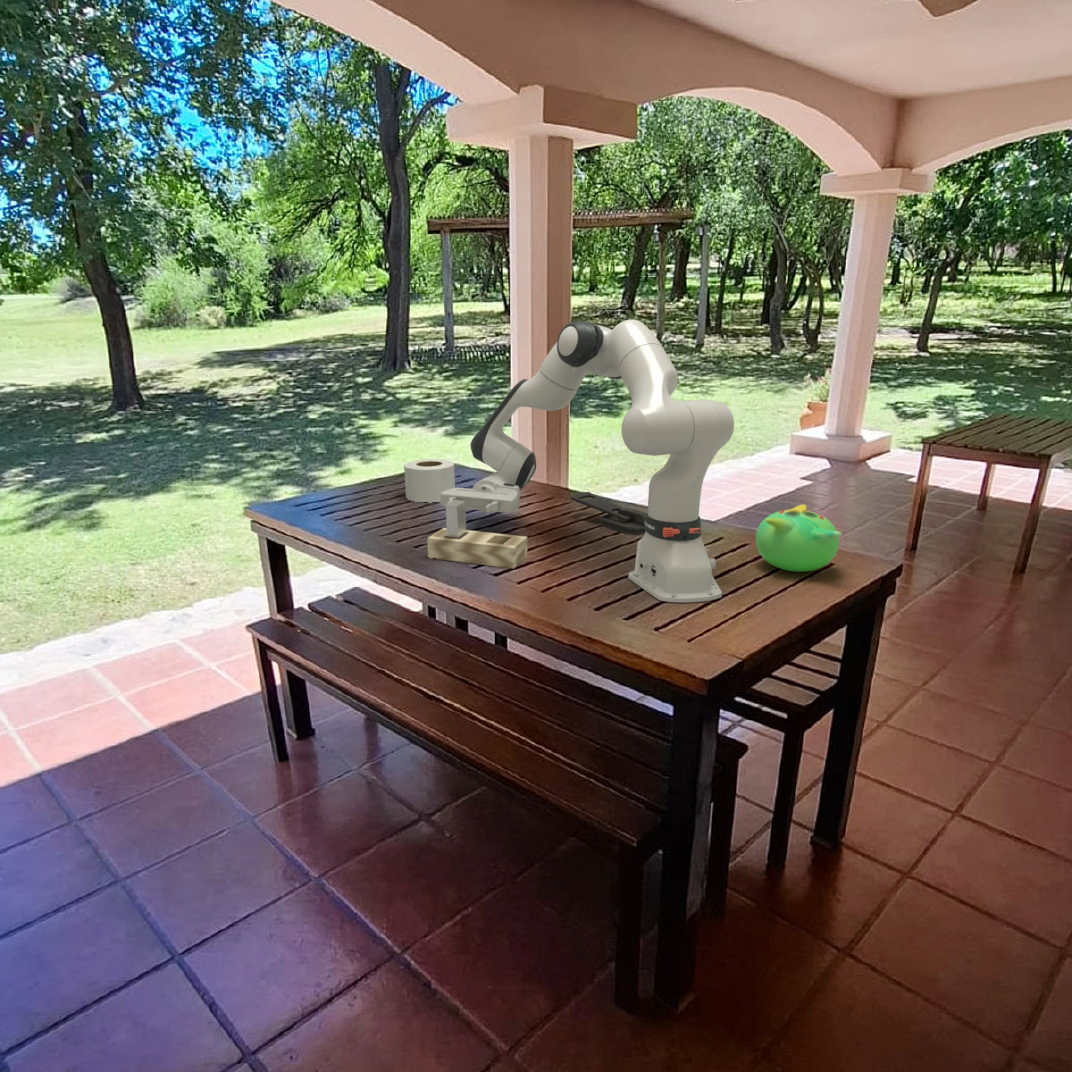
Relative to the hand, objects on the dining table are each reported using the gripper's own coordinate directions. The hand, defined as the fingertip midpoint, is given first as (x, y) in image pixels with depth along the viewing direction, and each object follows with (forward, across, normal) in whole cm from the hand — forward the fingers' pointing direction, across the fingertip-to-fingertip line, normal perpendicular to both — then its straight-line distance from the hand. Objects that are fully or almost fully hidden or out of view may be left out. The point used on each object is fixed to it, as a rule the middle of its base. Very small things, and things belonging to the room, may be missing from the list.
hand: (467, 507), depth 183 cm
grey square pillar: (+7, 0, +10) cm, 12 cm away
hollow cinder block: (+7, +6, +10) cm, 13 cm away
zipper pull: (-32, +29, +10) cm, 44 cm away
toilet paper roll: (-41, -31, +10) cm, 53 cm away
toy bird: (-10, +78, +10) cm, 79 cm away
